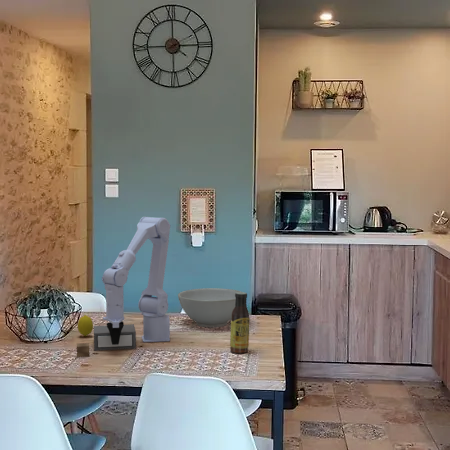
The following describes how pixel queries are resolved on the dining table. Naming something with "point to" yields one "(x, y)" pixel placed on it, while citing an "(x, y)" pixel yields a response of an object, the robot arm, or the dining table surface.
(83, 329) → the lemon
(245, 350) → the sauce bottle
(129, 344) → the tray
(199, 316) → the decorative bowl
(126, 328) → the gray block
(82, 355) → the walnut block
